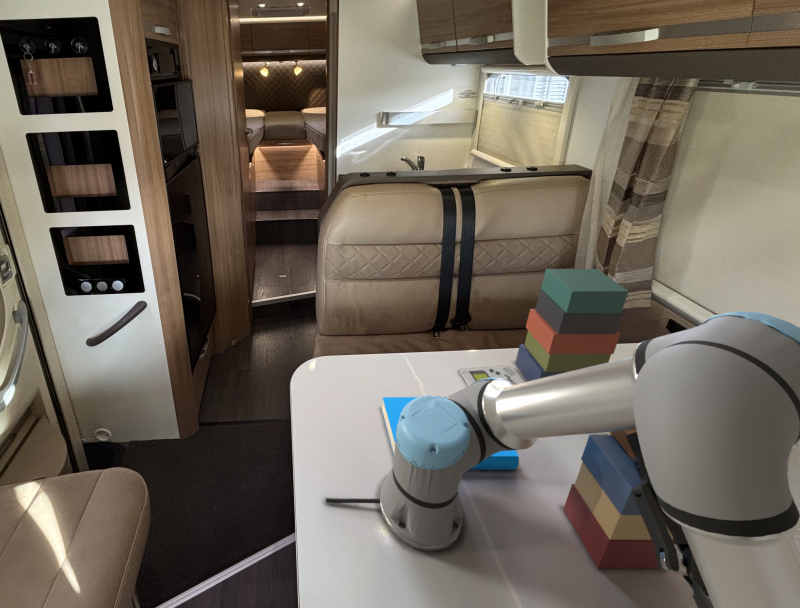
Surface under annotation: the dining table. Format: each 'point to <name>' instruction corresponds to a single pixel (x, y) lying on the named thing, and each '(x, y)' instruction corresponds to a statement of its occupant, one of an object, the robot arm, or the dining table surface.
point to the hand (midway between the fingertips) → (650, 434)
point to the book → (396, 404)
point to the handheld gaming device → (490, 374)
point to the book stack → (572, 323)
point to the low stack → (609, 507)
